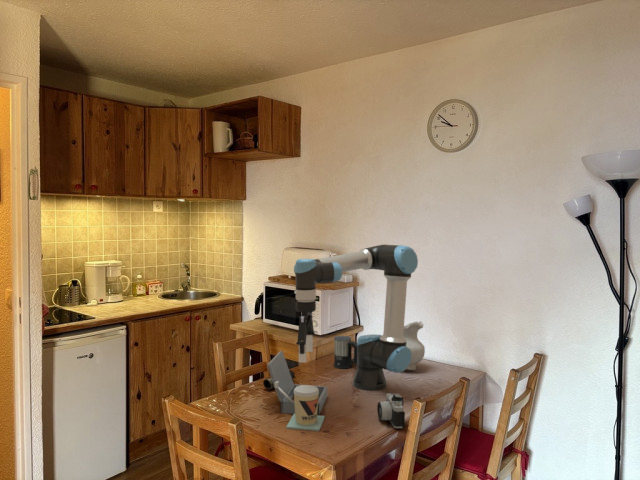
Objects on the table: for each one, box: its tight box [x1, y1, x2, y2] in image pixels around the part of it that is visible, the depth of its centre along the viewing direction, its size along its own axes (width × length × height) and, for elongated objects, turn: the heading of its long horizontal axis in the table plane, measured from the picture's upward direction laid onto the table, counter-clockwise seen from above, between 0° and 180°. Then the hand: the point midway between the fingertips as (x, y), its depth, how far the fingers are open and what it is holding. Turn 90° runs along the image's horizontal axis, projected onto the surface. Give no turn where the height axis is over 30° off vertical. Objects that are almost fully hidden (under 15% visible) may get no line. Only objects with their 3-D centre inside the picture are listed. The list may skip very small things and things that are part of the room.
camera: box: [376, 392, 406, 429], centre depth 177 cm, size 16×9×10 cm, turn 5°
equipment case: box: [266, 350, 328, 416], centre depth 192 cm, size 21×20×19 cm
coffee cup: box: [293, 384, 319, 425], centre depth 174 cm, size 9×9×12 cm
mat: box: [286, 414, 326, 432], centre depth 174 cm, size 12×12×1 cm
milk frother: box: [333, 335, 357, 369], centre depth 246 cm, size 14×16×15 cm
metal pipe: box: [262, 369, 296, 390], centre depth 215 cm, size 18×7×6 cm, turn 143°
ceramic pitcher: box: [403, 321, 426, 371], centre depth 242 cm, size 22×20×25 cm
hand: (306, 356), depth 177 cm, fingers open, 13 cm apart
